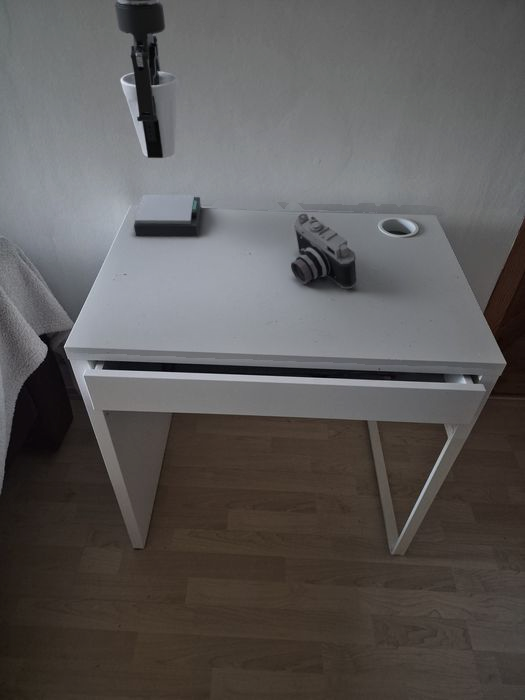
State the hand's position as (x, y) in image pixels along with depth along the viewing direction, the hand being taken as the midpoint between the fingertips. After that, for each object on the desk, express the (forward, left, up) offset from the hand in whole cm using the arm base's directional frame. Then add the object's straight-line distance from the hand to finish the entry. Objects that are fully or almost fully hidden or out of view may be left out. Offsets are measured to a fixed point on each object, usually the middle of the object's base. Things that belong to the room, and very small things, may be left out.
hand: (158, 147), depth 86 cm
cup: (0, 0, -1) cm, 1 cm away
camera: (+16, -31, -17) cm, 39 cm away
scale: (+1, +2, -17) cm, 17 cm away
